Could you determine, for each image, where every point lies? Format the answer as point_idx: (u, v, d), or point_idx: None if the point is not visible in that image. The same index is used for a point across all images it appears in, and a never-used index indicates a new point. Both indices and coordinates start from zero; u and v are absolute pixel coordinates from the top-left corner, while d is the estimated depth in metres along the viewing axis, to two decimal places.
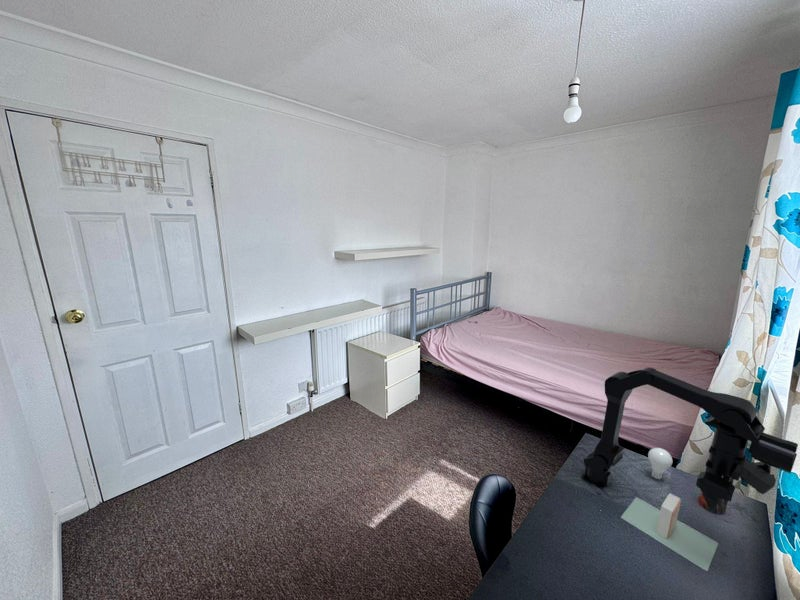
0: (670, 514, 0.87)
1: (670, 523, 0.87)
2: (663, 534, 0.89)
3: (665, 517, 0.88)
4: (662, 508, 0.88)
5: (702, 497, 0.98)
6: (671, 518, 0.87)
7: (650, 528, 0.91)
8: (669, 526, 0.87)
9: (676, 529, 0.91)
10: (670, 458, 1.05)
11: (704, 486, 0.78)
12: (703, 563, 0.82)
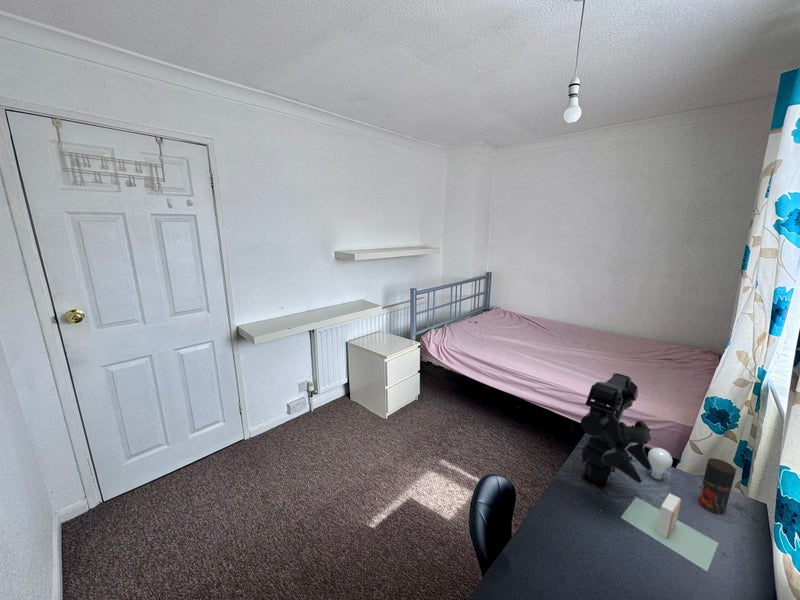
0: (670, 514, 0.87)
1: (670, 523, 0.87)
2: (663, 534, 0.89)
3: (665, 517, 0.88)
4: (662, 508, 0.88)
5: (702, 497, 0.98)
6: (671, 518, 0.87)
7: (650, 528, 0.91)
8: (669, 526, 0.87)
9: (676, 529, 0.91)
10: (670, 458, 1.05)
11: (607, 462, 0.92)
12: (703, 563, 0.82)
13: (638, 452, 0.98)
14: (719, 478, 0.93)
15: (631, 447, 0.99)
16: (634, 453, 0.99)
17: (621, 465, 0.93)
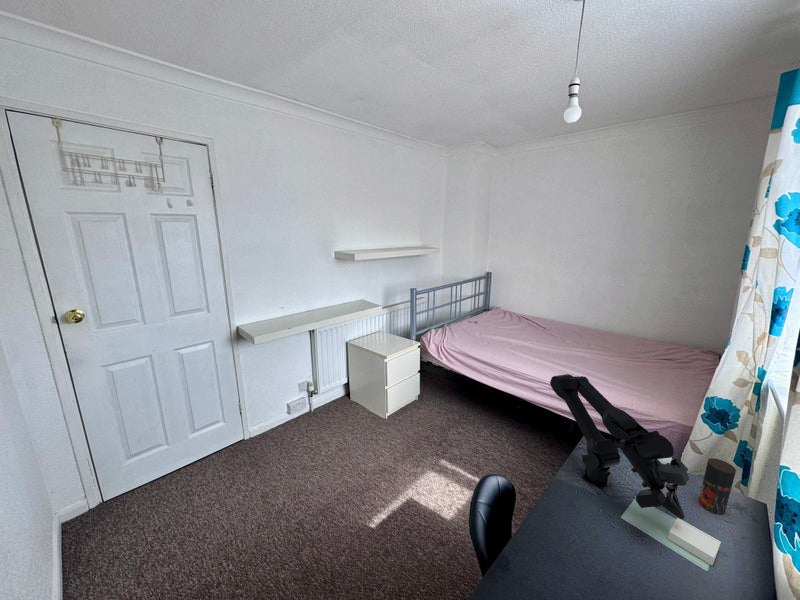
0: (706, 560, 0.82)
1: (692, 553, 0.84)
2: (671, 538, 0.87)
3: (698, 553, 0.83)
4: (710, 557, 0.81)
5: (702, 497, 0.98)
6: (700, 558, 0.83)
7: (650, 528, 0.91)
8: (687, 550, 0.85)
9: None
10: (670, 458, 1.05)
11: (642, 503, 0.86)
12: (703, 563, 0.82)
13: None
14: (719, 478, 0.93)
15: None
16: None
17: None
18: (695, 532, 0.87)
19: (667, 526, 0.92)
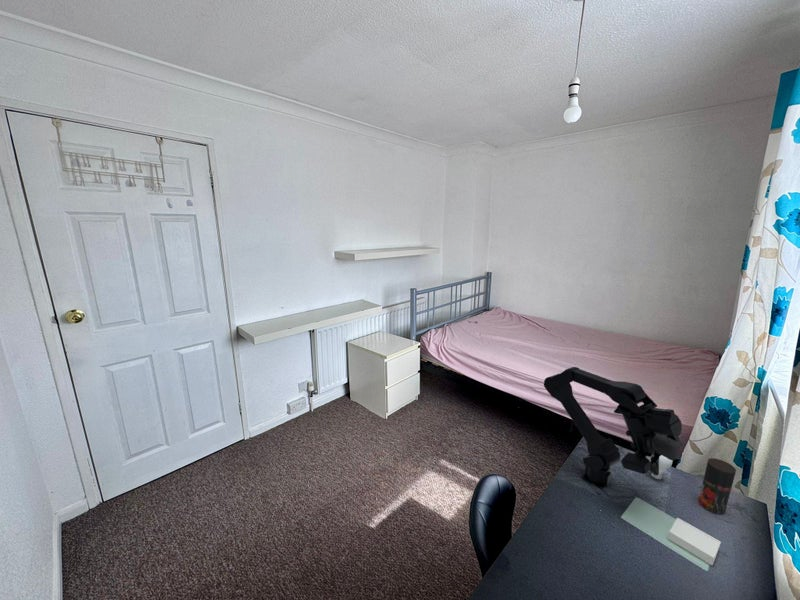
0: (706, 560, 0.82)
1: (692, 553, 0.84)
2: (671, 538, 0.87)
3: (698, 553, 0.83)
4: (710, 557, 0.81)
5: (702, 497, 0.98)
6: (700, 558, 0.83)
7: (650, 528, 0.91)
8: (687, 550, 0.85)
9: None
10: None
11: (626, 466, 0.93)
12: (703, 563, 0.82)
13: None
14: (719, 478, 0.93)
15: None
16: None
17: None
18: (695, 532, 0.87)
19: (667, 526, 0.92)
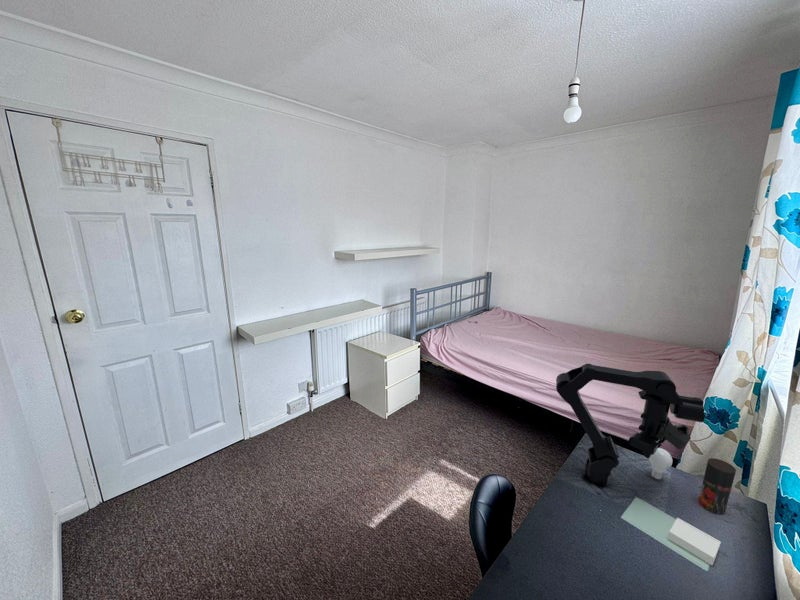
0: (706, 560, 0.82)
1: (692, 553, 0.84)
2: (671, 538, 0.87)
3: (698, 553, 0.83)
4: (710, 557, 0.81)
5: (702, 497, 0.98)
6: (700, 558, 0.83)
7: (650, 528, 0.91)
8: (687, 550, 0.85)
9: None
10: (670, 458, 1.05)
11: (634, 443, 0.95)
12: (703, 563, 0.82)
13: None
14: (719, 478, 0.93)
15: None
16: None
17: None
18: (695, 532, 0.87)
19: (667, 526, 0.92)
